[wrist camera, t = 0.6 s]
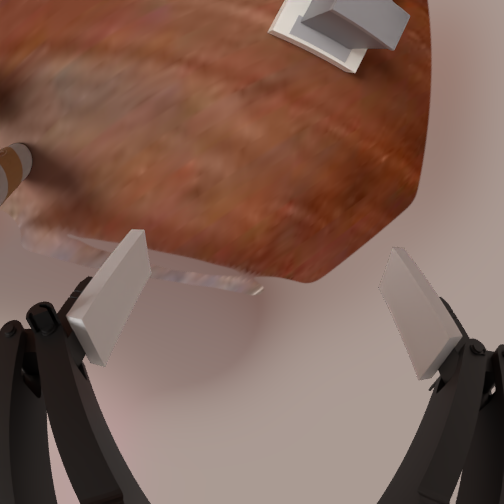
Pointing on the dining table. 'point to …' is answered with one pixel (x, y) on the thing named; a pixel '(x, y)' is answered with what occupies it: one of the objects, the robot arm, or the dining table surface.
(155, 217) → the dining table surface
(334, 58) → the switch panel
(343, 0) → the switch tab
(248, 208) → the dining table surface
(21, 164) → the coffee cup
